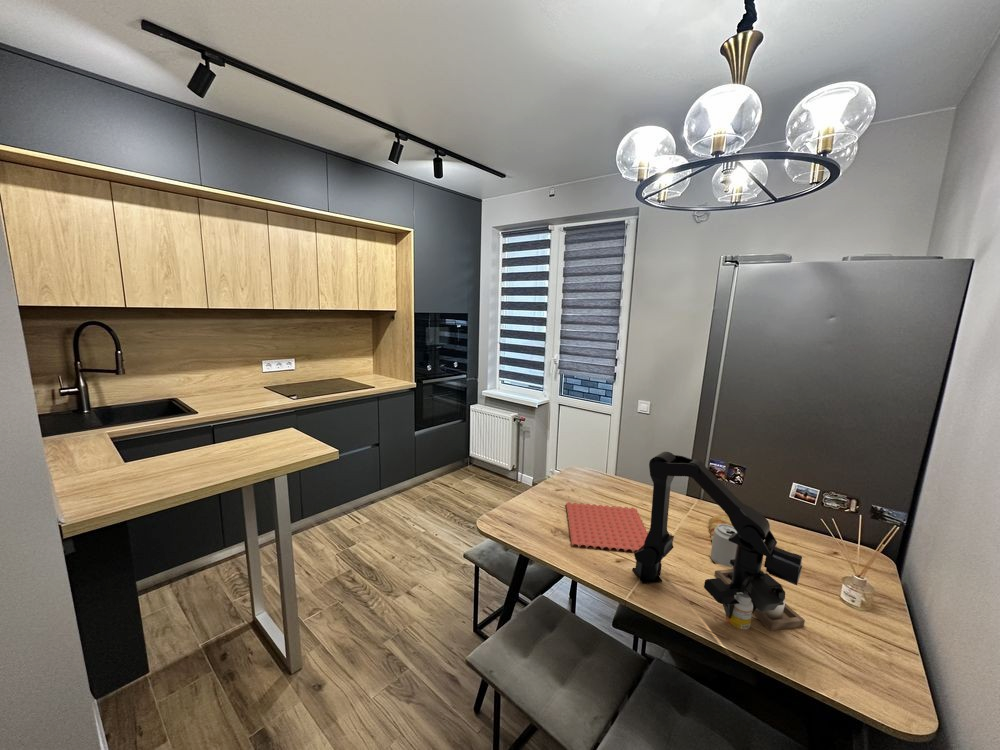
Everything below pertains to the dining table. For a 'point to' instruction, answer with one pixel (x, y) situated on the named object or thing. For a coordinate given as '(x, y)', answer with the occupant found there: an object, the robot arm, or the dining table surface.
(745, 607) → the supplement bottle
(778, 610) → the white rounded cylinder
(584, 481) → the dining table surface
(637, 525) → the red studded mat
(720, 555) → the can
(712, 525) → the croissant
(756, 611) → the caddy
